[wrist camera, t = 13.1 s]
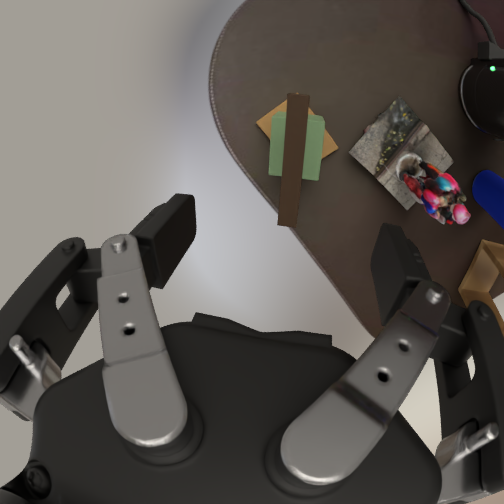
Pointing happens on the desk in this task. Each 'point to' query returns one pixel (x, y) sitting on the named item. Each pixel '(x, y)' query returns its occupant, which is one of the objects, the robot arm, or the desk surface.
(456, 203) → the statue
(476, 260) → the wooden frame
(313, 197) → the desk surface
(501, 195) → the beverage can
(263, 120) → the mat
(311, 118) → the green block with crossbars
